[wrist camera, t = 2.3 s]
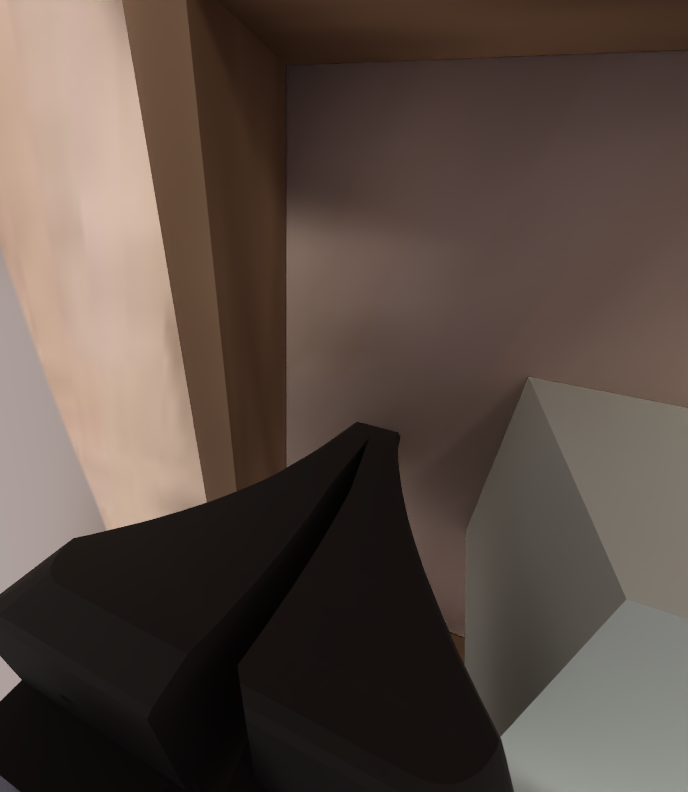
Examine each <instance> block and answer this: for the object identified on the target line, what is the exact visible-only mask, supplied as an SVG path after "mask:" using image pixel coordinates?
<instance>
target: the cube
mask: <svg viewBox="0 0 688 792" xmlns="http://www.w3.org/2000/svg"><path fill="white" fill-rule="evenodd" d="M465 667H466V669H467V671H468V673H469V675H470V677H471V680H472V682H473V684H474V686H475V688H476V690H477V692H478V694H479V696H480V698H481V700H482V702H483V704H484V706H485V708H486V710H487V712H488V714H489V716H490V718H491V720H492V722H493V724H494V726H495V727H496V730H497V732H498V734H499V736H500V738H501V740H502V744H503V748H504V751H505V755H506V759H507V764H508V768H509V772H510V776H511V781H512V785H513V789H514V792H688V408H685V407H680V406H675V405H670V404H665V403H660V402H655V401H650V400H645V399H640V398H635V397H630V396H625V395H619V394H614V393H609V392H604V391H599V390H594V389H589V388H584V387H579V386H574V385H569V384H564V383H559V382H553V381H548V380H543V379H538V378H533V377H528V379H527V381H526V384H525V386H524V389H523V391H522V394H521V396H520V399H519V401H518V404H517V406H516V409H515V411H514V413H513V416H512V418H511V421H510V423H509V426H508V428H507V431H506V433H505V436H504V438H503V441H502V443H501V445H500V448H499V450H498V453H497V455H496V458H495V460H494V463H493V465H492V468H491V470H490V473H489V475H488V477H487V480H486V482H485V485H484V487H483V490H482V492H481V495H480V497H479V500H478V502H477V505H476V507H475V510H474V512H473V514H472V517H471V519H470V522H469V524H468V527H467V529H466V532H465Z"/></svg>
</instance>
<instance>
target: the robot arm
mask: <svg viewBox="0 0 688 792" xmlns="http://www.w3.org/2000/svg"><path fill="white" fill-rule="evenodd" d="M399 441H400V435H399V434H398V432H394V431H391V430H387V429H383V428H379V427H375V426H372V425H368V424H364V423H360V422H357V423H355V424H353V425H352V426H350V427H349V428H348V429H346V430H345V431H344V432H342V433H341V434H339V435H338V436H337V437H335V438H334V439H332V440H331V441H329V442H328V443H326V444H325V445H323V446H322V447H320V448H319V449H317V450H316V451H314V452H313V453H311V454H310V455H308V456H306V457H305V458H303V459H301V460H299V461H298V462H296V463H294V464H293V465H291V466H289V467H287V468H286V469H284V470H282V471H280V472H278V473H276V474H274V475H272V476H270V477H268V478H266V479H264V480H262V481H260V482H258V483H256V484H253V485H251V486H249V487H246V488H244V489H241V490H239V491H236V492H234V493H231V494H228V495H226V496H223V497H221V498H218V499H215V500H213V501H210V502H207V503H205V504H202V505H199V506H196V507H192V508H189V509H186V510H183V511H180V512H177V513H173V514H170V515H166V516H163V517H160V518H156V519H152V520H149V521H145V522H141V523H137V524H133V525H129V526H125V527H121V528H116V529H112V530H108V531H104V532H100V533H96V534H92V535H87V536H82V537H78V538H73V539H72V540H71V541H69V542H68V543H67V544H65V545H64V546H63V547H61V548H60V549H59V550H57V551H56V552H55V553H53V554H52V555H51V556H50V557H48V558H47V559H46V560H44V561H43V562H42V563H40V564H39V565H38V566H36V567H35V568H34V569H32V570H31V571H30V572H29V573H27V574H26V575H25V576H23V577H22V578H21V579H19V580H18V581H17V582H15V583H14V584H13V585H12V586H10V587H9V588H8V589H6V590H5V591H4V592H2V593H1V594H0V656H1V657H2V658H3V659H4V660H5V662H6V663H7V664H8V665H9V666H10V667H11V668H12V669H13V671H14V672H15V673H16V674H17V675H18V676H19V677H20V678H21V679H22V681H21V682H20V683H19V684H18V685H17V686H16V687H14V689H12V690H11V692H10V693H8V694H7V696H6V697H4V698H3V700H1V701H0V792H514V789H513V785H512V781H511V776H510V772H509V768H508V764H507V759H506V755H505V751H504V748H503V744H502V740H501V738H500V736H499V734H498V732H497V730H496V727H495V726H494V724H493V722H492V720H491V718H490V716H489V714H488V712H487V710H486V708H485V706H484V704H483V702H482V700H481V698H480V696H479V694H478V692H477V690H476V688H475V686H474V684H473V682H472V680H471V677H470V675H469V673H468V671H467V669H466V667H465V665H464V663H463V661H462V659H461V657H460V654H459V652H458V650H457V648H456V646H455V643H454V641H453V639H452V637H451V634H450V632H449V630H448V628H447V626H446V623H445V621H444V619H443V616H442V614H441V611H440V609H439V606H438V604H437V601H436V599H435V596H434V594H433V591H432V589H431V586H430V584H429V581H428V579H427V576H426V574H425V571H424V568H423V566H422V563H421V560H420V557H419V554H418V551H417V548H416V545H415V541H414V538H413V535H412V531H411V528H410V524H409V520H408V516H407V512H406V508H405V503H404V498H403V493H402V488H401V481H400V473H399V464H398V445H399Z"/></svg>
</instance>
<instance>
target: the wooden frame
mask: <svg viewBox="0 0 688 792" xmlns="http://www.w3.org/2000/svg"><path fill="white" fill-rule="evenodd" d="M122 1H123V7H124V13H125V19H126V25H127V31H128V37H129V43H130V49H131V54H132V60H133V66H134V72H135V78H136V84H137V90H138V96H139V102H140V108H141V114H142V120H143V126H144V132H145V137H146V143H147V149H148V155H149V161H150V167H151V173H152V179H153V185H154V191H155V197H156V203H157V209H158V215H159V221H160V226H161V232H162V238H163V244H164V250H165V256H166V262H167V268H168V274H169V280H170V286H171V292H172V298H173V304H174V309H175V315H176V321H177V327H178V333H179V339H180V345H181V351H182V357H183V363H184V369H185V375H186V381H187V387H188V392H189V398H190V404H191V410H192V416H193V422H194V428H195V434H196V440H197V446H198V452H199V458H200V464H201V470H202V475H203V481H204V487H205V493H206V499H207V502H210V501H213V500H215V499H218V498H221V497H223V496H226V495H228V494H231V493H234V492H236V491H239V490H241V489H244V488H246V487H249V486H251V485H253V484H256V483H258V482H260V481H262V480H264V479H266V478H268V477H270V476H272V475H274V474H276V473H278V472H280V471H282V470H284V469H286V65H303V64H329V63H355V62H381V61H406V60H432V59H458V58H484V57H510V56H536V55H562V54H588V53H614V52H640V51H666V50H688V0H122ZM450 634H451V637H452V639H453V641H454V643H455V646H456V648H457V650H458V652H459V654H460V657H461V659H462V661H463V663H464V665H465V639H464V638H462V637H459V636H457V635H454V634H452V633H450Z"/></svg>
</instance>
